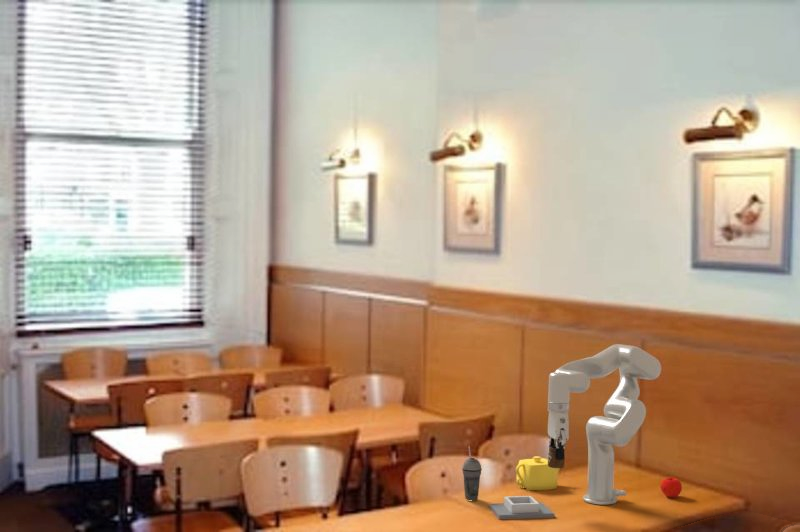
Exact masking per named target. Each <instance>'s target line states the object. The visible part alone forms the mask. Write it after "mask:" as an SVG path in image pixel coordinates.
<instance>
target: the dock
mask: <svg viewBox="0 0 800 532" xmlns="http://www.w3.org/2000/svg"><path fill="white" fill-rule="evenodd" d="M488 509H489V510H490V511H491V510H492V511H493V512H492V513H493V514H494V516H495V517H496V518H497V517H498V518H497V519H498V520H521V519H523V520H525V519H549V518H551V519H553V518H555V512H553V510H552V509H550V508H549V507H548V506H547V505H546V504H545V503H544V502H543V501H540V502H539V501H537V500H536V498H534V497H533V496H531V495H517V496H515V495H514V496H503V502H502V503H501V502H500V503H499V502H498V503H488Z"/></svg>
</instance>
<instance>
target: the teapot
mask: <svg viewBox="0 0 800 532" xmlns="http://www.w3.org/2000/svg"><path fill="white" fill-rule="evenodd" d="M560 469H561V468H551V467H549V466H548V458H543V457H541V456H539V455H536V456H533V457H532V458H525V459H519V461H518V464H517V466H515V472H516V476H515V477H516V481H515V482H516V484H517V485H518V486H519V485H520V486H519V487H521V486H522V487H524V488H526V489H527V491H528V490H537V491H547V490H548V491H549V490H555V489H557V487H558V473H559V472H560ZM522 487H521V488H522ZM524 488H523V489H524ZM526 489H525V490H526Z"/></svg>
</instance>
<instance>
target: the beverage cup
mask: <svg viewBox="0 0 800 532" xmlns="http://www.w3.org/2000/svg"><path fill="white" fill-rule="evenodd" d="M471 454H472V453H471V447H470V445H469V446H468V456H469V458H467V459H466V460H465V461H464V462H463V464H462V468H461V469H462V475H463V484H464V485H463V486H464V487H463V488H464V497H465V498H464V499H467V500H472V501H471V502H475V501H474V500H477V501H478V498H479V488H480V480H481V479H480V478H481V475H482V464H481V462H480V461H479V460H478V459H477V458H474V457H472V455H471ZM467 500H466V501H467Z"/></svg>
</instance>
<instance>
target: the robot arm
mask: <svg viewBox="0 0 800 532" xmlns="http://www.w3.org/2000/svg"><path fill="white" fill-rule="evenodd" d="M616 370H619V371H618V372H619V384H618V386H617V388H615V390H614V392H613V393H612V394H611V396H610V397H609V398H608V400H607V401H606V403H605V405H604V406H603V414H604V415H595V416H591V417H590V418H589V419H588V421H587V422H586V425H585V432H586V433H585V434H586V438H587V449H588V450H587V452H588V453H587V455H588V456H587V489H586V490H587V491H586V494H584V495H582V500H583V501H584V502H586V503H590V504H592V505H593V504H594V505H599V506H600V505H602V506H603V505H604V506H605V505H606V506H607V505H608V506H609V505H614V504H616V503H618V497H619V496H621V497H625V496H626V495H627V492H626V490H620V489H615V488H614V479H615V478H614V475H615V473H614V472H615V471H614V470H615V469H614V468H615V452H614V449H613V446H616V447H625V446H626V445H628V444H629V442H631V440H632V439H633V437H634V436H635V435H636V434H637V432H638V431H639V429H640V428H641V426H642V425H643V423H644V421H645V419H646V415H647V410H646V409H647V408H646V405H645V404H644V402H643V401H641V400H639V399H638V398H639V397H640V386H639V383H638V379H641V380H649V381H651V380H652V381H653V380H656V379H658V377H659V376H660V374H661V372H662V365H661V362H660V361H659V360H658V358H656V357H655V356H653V355H652V354H650V353H648V352H647V351H645V350H644V349H642V348H640V347H638V346H635V345H630V344H629V345H628V344H621V343H618V344H617V343H615V344H613V345H611V346H609V347H607V348H606V349H604V350H601V351H600V352H598V353H596V354H595V355H592V356H589V357H585V358H582V359H577V360H573V361H570V362H567V363H565V364H563V365H562V366H560V367H558V368H557V369H556V370H555V371H554V372H550V373H549V375H548V394H547V395H548V396H547V412H548V418H547V419H548V420H547V435H548V436H549V437H548V438H549V441H548V444H549V445H548V452H549V451H550V450H549V448H550V446H556V448H555V459H556V460H563V459H564V454H565V447H566V446H565V445H566V442H567V441H569V439H570V437H569V436H570V424H569V423H570V420H569V412H570V393H575V394H576V393H577V394H580V393H584V392H586V391H588V389H589V388H590V386H591V379H600V378H601V379H602V378H605V377H606V376H608V375H610V374H611V373H613V372H614V371H616ZM554 439H555V440H556V443H554ZM558 441H559V443H558Z"/></svg>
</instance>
